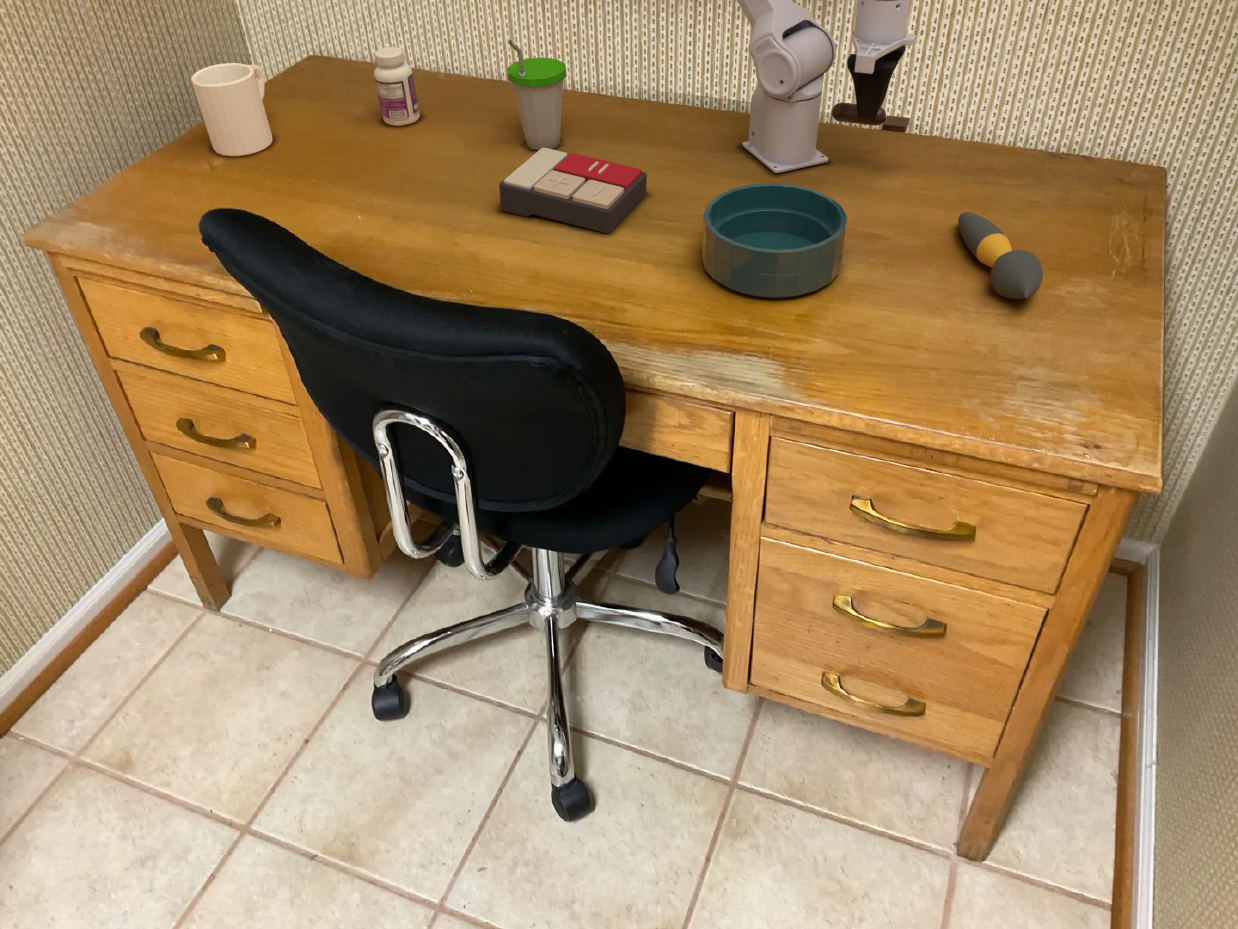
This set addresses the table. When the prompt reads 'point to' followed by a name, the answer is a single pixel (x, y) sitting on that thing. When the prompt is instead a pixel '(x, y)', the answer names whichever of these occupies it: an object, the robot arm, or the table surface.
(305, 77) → the table surface
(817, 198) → the bowl
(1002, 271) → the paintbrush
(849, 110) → the brush
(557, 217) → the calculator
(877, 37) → the robot arm
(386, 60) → the pill bottle
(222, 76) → the mug
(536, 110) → the cup
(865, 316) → the table surface
